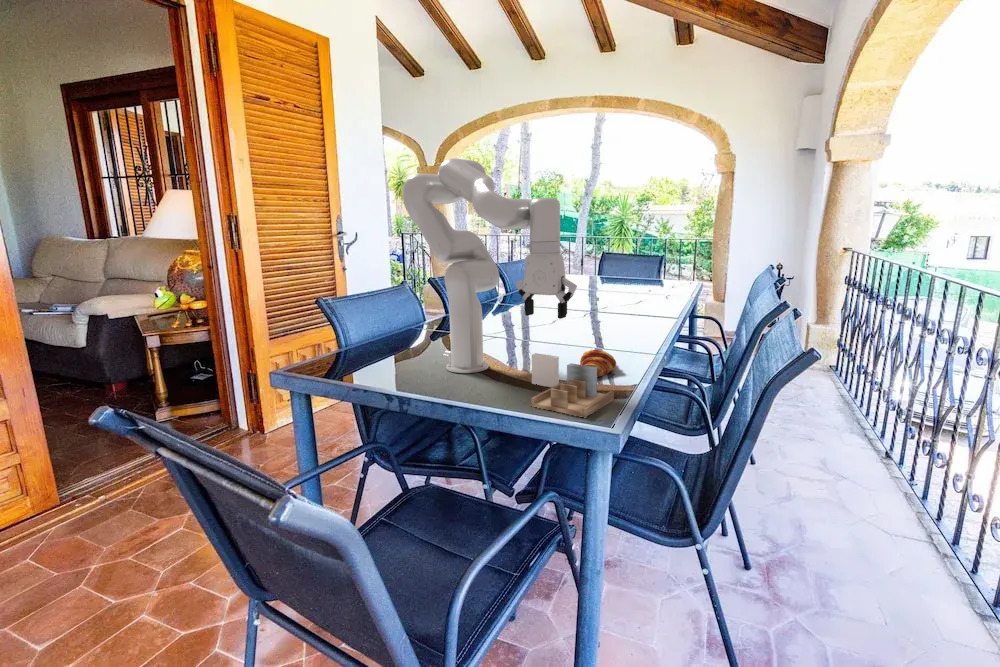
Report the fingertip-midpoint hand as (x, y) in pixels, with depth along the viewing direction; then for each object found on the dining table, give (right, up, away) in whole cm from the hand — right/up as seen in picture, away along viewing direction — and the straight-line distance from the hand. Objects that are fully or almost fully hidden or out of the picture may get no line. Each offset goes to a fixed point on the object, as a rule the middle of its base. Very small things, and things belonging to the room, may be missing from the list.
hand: (545, 316), depth 134 cm
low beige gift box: (0, -18, +4) cm, 18 cm away
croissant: (+17, -15, +16) cm, 28 cm away
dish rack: (+6, -21, -11) cm, 24 cm away
